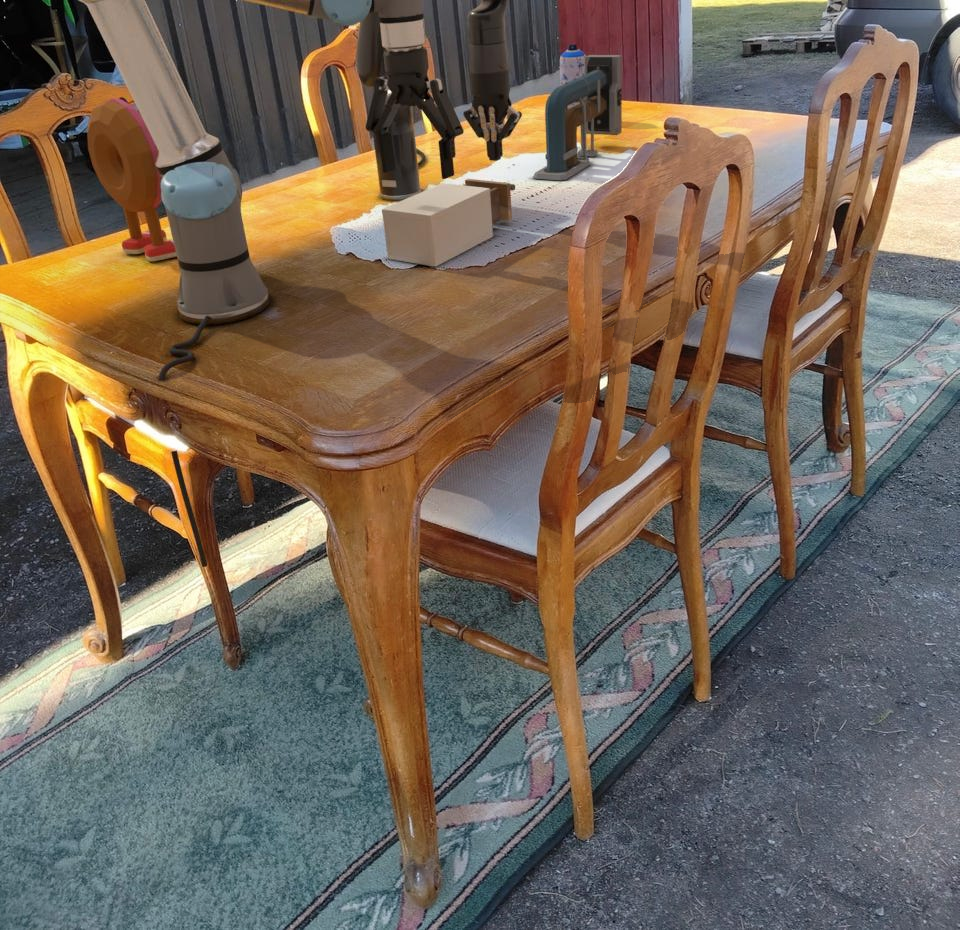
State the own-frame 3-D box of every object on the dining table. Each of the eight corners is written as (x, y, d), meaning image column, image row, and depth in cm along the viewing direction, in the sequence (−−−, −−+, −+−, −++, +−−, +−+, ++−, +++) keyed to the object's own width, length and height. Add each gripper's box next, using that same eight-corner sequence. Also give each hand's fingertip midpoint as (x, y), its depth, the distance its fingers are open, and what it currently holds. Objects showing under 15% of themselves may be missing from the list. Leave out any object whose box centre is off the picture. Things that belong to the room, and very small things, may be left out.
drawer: (486, 207, 204) (483, 171, 200) (526, 212, 199) (524, 176, 195) (419, 239, 188) (415, 201, 185) (461, 245, 183) (458, 206, 179)
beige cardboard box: (446, 230, 196) (442, 183, 191) (493, 236, 190) (489, 188, 185) (387, 258, 183) (381, 209, 178) (435, 266, 177) (430, 215, 172)
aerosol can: (559, 122, 275) (557, 47, 265) (562, 117, 282) (559, 42, 272) (587, 121, 274) (585, 45, 263) (589, 115, 280) (587, 41, 270)
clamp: (565, 180, 221) (562, 81, 210) (530, 178, 225) (526, 81, 214) (621, 144, 247) (621, 55, 236) (589, 143, 251) (588, 55, 240)
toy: (207, 253, 194) (172, 96, 178) (163, 268, 187) (122, 106, 172) (152, 236, 207) (115, 88, 191) (109, 250, 200) (67, 98, 185)
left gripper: (477, 45, 161) (486, 174, 171) (363, 43, 174) (378, 163, 184) (450, 52, 155) (461, 185, 166) (335, 50, 168) (352, 173, 179)
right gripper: (528, 65, 184) (533, 157, 193) (472, 63, 191) (478, 153, 200) (507, 72, 179) (512, 167, 188) (450, 70, 186) (457, 161, 195)
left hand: (418, 174), depth 175 cm, fingers open, 13 cm apart
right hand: (495, 159), depth 194 cm, fingers closed
